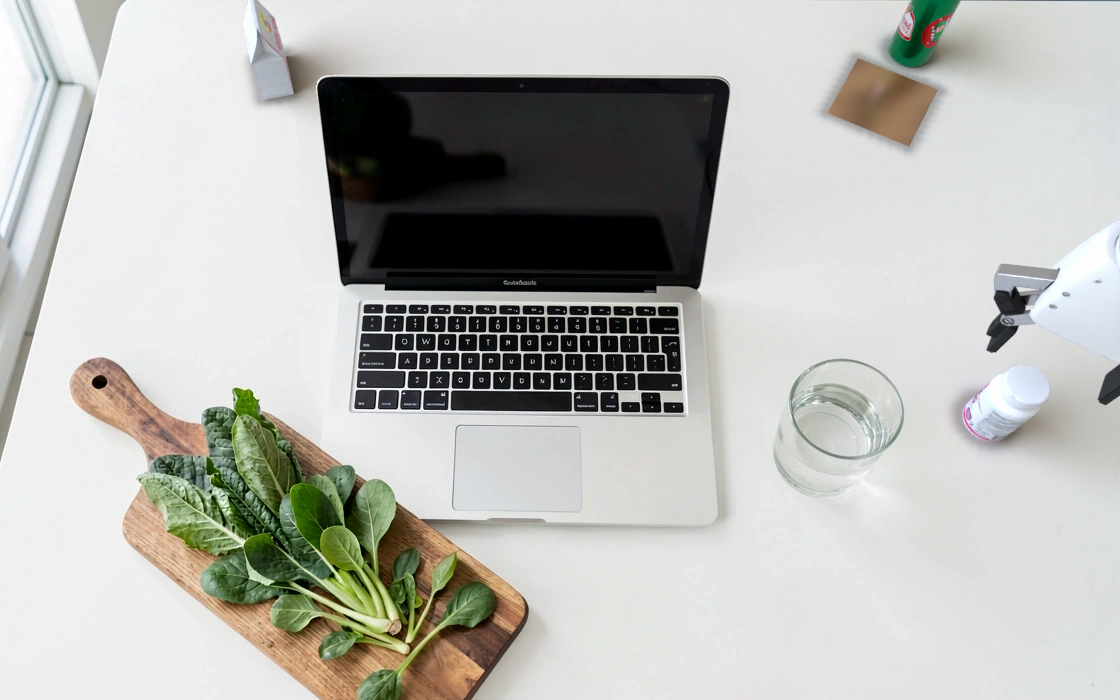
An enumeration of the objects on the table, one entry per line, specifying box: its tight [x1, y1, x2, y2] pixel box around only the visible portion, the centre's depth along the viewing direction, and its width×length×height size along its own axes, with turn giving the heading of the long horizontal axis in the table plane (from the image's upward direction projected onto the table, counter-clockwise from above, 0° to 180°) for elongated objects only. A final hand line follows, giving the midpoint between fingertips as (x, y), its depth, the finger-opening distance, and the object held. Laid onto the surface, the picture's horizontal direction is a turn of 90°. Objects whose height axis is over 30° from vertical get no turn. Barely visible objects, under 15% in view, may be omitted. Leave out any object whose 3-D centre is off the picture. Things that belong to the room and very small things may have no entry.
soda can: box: [887, 0, 962, 68], centre depth 105 cm, size 5×5×12 cm
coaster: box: [826, 58, 938, 147], centre depth 107 cm, size 10×10×1 cm
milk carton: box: [242, 0, 295, 101], centre depth 105 cm, size 4×7×10 cm, turn 15°
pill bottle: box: [961, 364, 1051, 442], centre depth 86 cm, size 5×5×8 cm
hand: (1048, 364), depth 78 cm, fingers open, 9 cm apart
